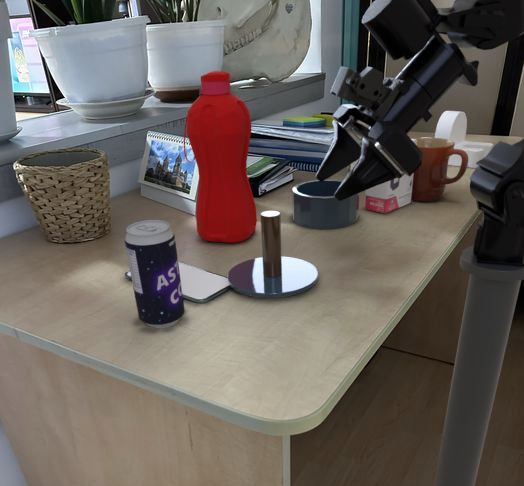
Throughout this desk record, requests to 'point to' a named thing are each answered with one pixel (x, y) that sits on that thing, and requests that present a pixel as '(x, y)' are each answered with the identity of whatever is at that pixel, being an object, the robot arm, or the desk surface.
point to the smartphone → (199, 283)
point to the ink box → (390, 194)
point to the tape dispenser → (460, 138)
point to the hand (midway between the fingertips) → (326, 188)
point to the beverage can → (155, 272)
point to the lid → (272, 267)
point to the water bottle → (221, 161)
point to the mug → (435, 168)
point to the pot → (322, 205)
